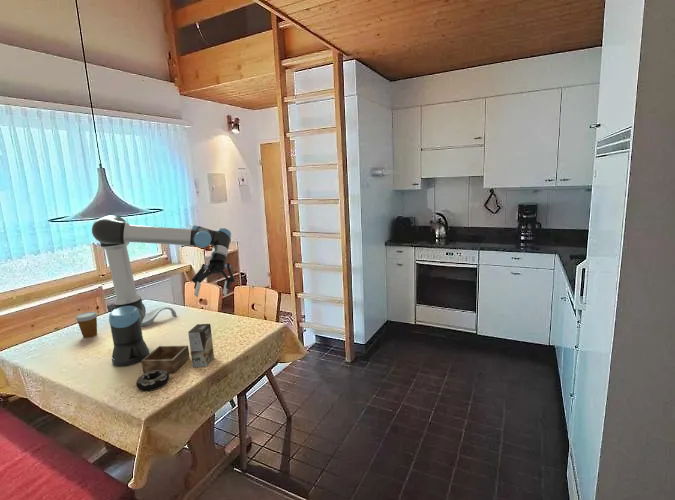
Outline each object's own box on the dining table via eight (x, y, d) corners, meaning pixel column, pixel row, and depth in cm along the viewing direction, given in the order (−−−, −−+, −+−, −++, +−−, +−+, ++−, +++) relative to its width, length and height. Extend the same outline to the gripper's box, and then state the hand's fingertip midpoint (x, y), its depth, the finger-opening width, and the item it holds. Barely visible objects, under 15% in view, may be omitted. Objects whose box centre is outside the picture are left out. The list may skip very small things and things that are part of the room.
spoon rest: (137, 330, 201) (135, 318, 199) (129, 325, 208) (127, 314, 207) (179, 317, 218) (177, 305, 217) (170, 313, 226) (168, 302, 224)
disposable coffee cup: (75, 339, 193) (70, 317, 190) (90, 331, 202) (87, 311, 199) (89, 340, 190) (85, 318, 188) (105, 332, 199) (101, 311, 197)
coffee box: (206, 367, 156) (202, 331, 153) (192, 367, 157) (187, 332, 154) (214, 356, 165) (210, 323, 162) (200, 357, 166) (196, 323, 163)
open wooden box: (143, 373, 153) (141, 360, 152) (160, 358, 166) (159, 346, 165) (174, 373, 152) (172, 360, 151) (189, 357, 165) (188, 345, 164)
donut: (173, 375, 151) (171, 366, 151) (164, 391, 140) (162, 381, 139) (143, 378, 150) (141, 369, 149) (132, 394, 138) (130, 385, 138)
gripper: (245, 259, 183) (238, 297, 171) (197, 261, 185) (187, 299, 173) (241, 251, 177) (233, 290, 165) (191, 253, 179) (180, 292, 167)
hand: (210, 295), depth 169 cm, fingers open, 13 cm apart
